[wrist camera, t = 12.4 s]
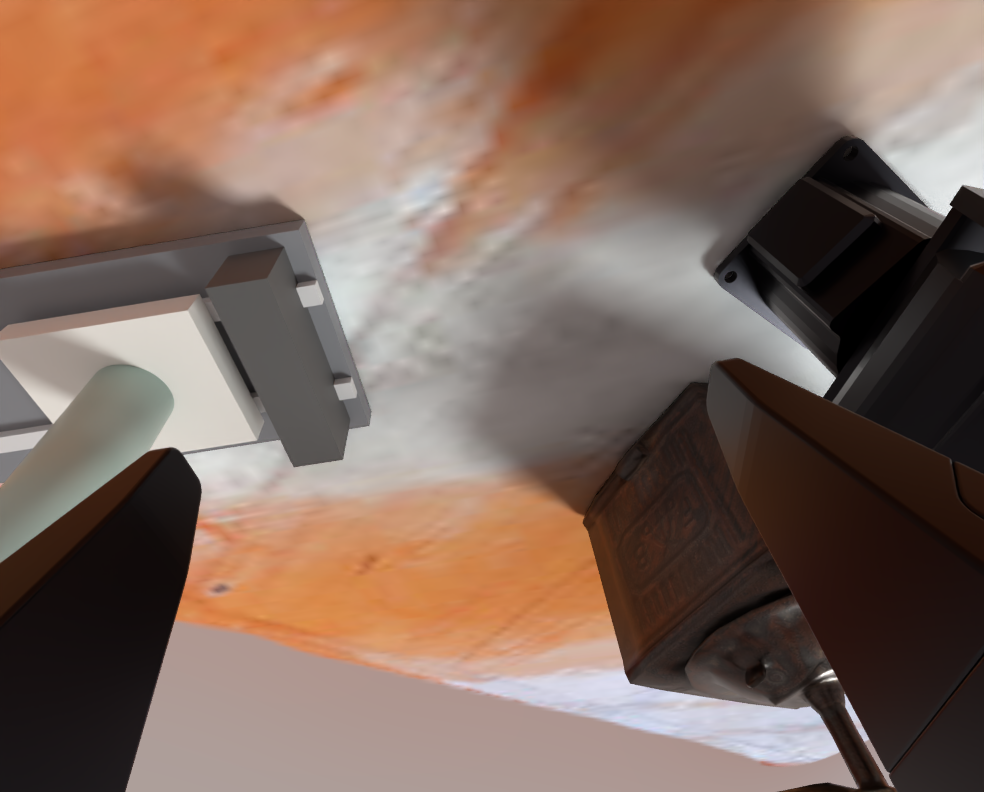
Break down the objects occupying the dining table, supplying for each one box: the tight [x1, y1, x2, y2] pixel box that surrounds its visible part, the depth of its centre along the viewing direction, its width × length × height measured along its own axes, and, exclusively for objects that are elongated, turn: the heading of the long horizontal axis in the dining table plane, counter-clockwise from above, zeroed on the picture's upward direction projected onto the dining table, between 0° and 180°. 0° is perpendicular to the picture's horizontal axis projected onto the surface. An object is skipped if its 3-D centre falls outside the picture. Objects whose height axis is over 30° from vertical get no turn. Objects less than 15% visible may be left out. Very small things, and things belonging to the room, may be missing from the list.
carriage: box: [0, 294, 264, 563], centre depth 18 cm, size 7×6×10 cm
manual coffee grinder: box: [583, 383, 897, 792], centre depth 24 cm, size 16×11×18 cm
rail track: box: [0, 219, 371, 483], centre depth 22 cm, size 19×9×4 cm, turn 98°
